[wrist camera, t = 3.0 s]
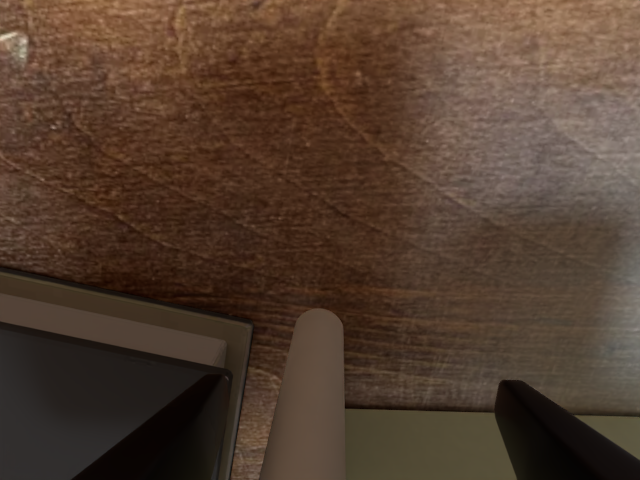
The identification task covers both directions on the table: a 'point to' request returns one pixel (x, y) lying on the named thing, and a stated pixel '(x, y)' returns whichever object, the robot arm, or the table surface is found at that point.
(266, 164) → the table surface
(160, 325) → the book
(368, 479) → the door
